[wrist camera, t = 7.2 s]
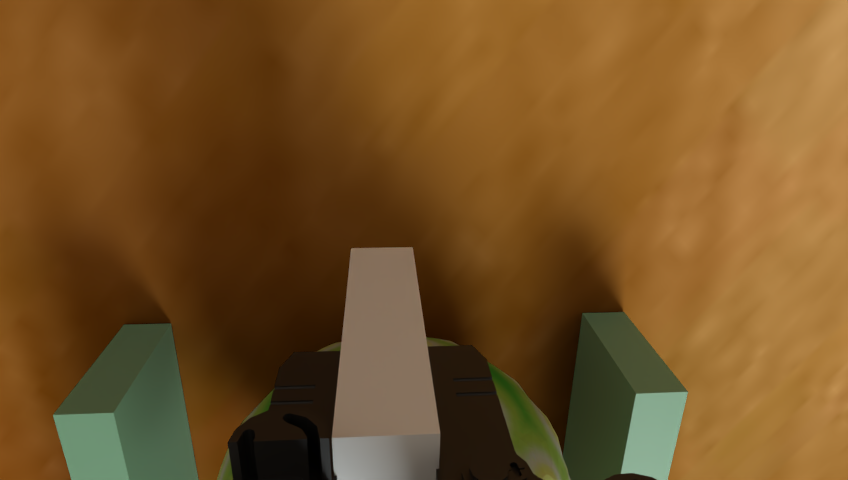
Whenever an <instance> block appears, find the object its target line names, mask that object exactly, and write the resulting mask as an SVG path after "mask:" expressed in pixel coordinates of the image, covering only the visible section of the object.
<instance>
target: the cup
mask: <svg viewBox="0 0 848 480" xmlns="http://www.w3.org/2000/svg"><path fill="white" fill-rule="evenodd" d="M687 394H688V391H687V390H686V389H685V388H684V386H683V385H682V384H681V383H680V381H679V380H678V379H677V378H676V376H675V375H674V374H673V373H672V371H671V370H670V369H669V368H668V366H667V365H666V364H665V363H664V361H663V360H662V359H661V358H660V356H659V355H658V354H657V353H656V351H655V350H654V349H653V348H652V346H651V345H650V344H649V343H648V341H647V340H646V339H645V338H644V336H643V335H642V334H641V333H640V331H639V330H638V329H637V328H636V326H635V325H634V324H633V323H632V321H631V320H630V319H629V318H628V316H627V315H626V314H625V313H624V312H604V313H582V320H581V327H580V334H579V341H578V349H577V356H576V363H575V370H574V378H573V385H572V392H571V399H570V406H569V414H568V421H567V428H566V435H565V443H564V450H563V459H564V461H565V464H566V466H567V469H568V474H569V477H570V479H571V480H605V479H607V478H609V477H611V476H613V475H615V474H625V473H635V474H640V475H645V476H649V477H653V478H655V479H657V480H668V475H669V471H670V467H671V463H672V458H673V454H674V450H675V445H676V441H677V437H678V432H679V428H680V424H681V420H682V415H683V411H684V407H685V402H686V398H687ZM53 417H54V421H55V424H56V427H57V431H58V434H59V438H60V441H61V445H62V448H63V452H64V455H65V459H66V462H67V466H68V469H69V473H70V476H71V480H198V475H197V469H196V463H195V458H194V452H193V446H192V441H191V435H190V429H189V424H188V418H187V412H186V407H185V401H184V395H183V389H182V384H181V378H180V372H179V367H178V361H177V355H176V350H175V344H174V338H173V333H172V327H171V323H167V324H128V325H123V326H122V328H121V329H120V330H119V332H118V333H117V334H116V335H115V337H114V338H113V339H112V340H111V342H110V343H109V344H108V346H107V347H106V348H105V349H104V351H103V352H102V353H101V354H100V356H99V357H98V358H97V360H96V361H95V362H94V363H93V365H92V366H91V367H90V368H89V370H88V371H87V372H86V374H85V375H84V376H83V377H82V379H81V380H80V381H79V382H78V384H77V385H76V386H75V388H74V389H73V390H72V391H71V393H70V394H69V395H68V396H67V398H66V399H65V400H64V402H63V403H62V404H61V405H60V407H59V408H58V409H57V410H56V412H55V413H54V414H53Z"/></svg>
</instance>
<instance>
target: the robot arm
mask: <svg viewBox="0 0 848 480" xmlns="http://www.w3.org/2000/svg"><path fill="white" fill-rule="evenodd" d="M228 448H229V455H230V462H231V469H232V475H233V480H543V479H541V478H539V477H537V476H536V475H535V474H533V472H532V470H531V469H530V467H529V465H528V464H527V462H526V461H525V460H523V459H522V458H521V457H520V456H518V455H517V454H516V452H515V450H514V446H513V443H512V440H511V437H510V433H509V430H508V427H507V424H506V420H505V417H504V414H503V411H502V407H501V404H500V401H499V398H498V395H497V391H496V388H495V385H494V382H493V380H492V375H491V372H490V369H489V365H488V362H487V359H486V358H485V357H484V356H483V355H481V354H480V353H479V352H478V351H477V350H476V349H475V348H474V347H473V346H472V345H460V346H427V340H426V333H425V327H424V320H423V313H422V307H421V300H420V293H419V286H418V280H417V273H416V266H415V259H414V253H413V247H391V248H351V254H350V264H349V274H348V283H347V293H346V303H345V313H344V323H343V332H342V342H341V351H316V352H294V353H293V354H292V355H291V356H290V357H289V358H288V359H287V360H286V361H285V363H284V364H283V365H282V366H281V367H280V368H279V371H278V375H277V379H276V383H275V389H274V390H273V394H272V398H271V404H270V405H269V409H268V411H265V412H263V413H261V414H258V415H256V416H253V417H251V418H249V419H248V420H247V421H245V422H244V423H243V424H242V425H240V426H239V427H238V428H237V429H236V430H235V431H234V433H233V435H232V436H231V438H230V439H229V441H228ZM605 480H657V479H655V478H653V477H649V476H645V475H640V474H635V473H625V474H615V475H613V476H611V477H609V478H607V479H605Z"/></svg>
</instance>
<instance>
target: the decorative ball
mask: <svg viewBox="0 0 848 480" xmlns="http://www.w3.org/2000/svg"><path fill="white" fill-rule="evenodd" d="M426 340H427V346H459V345H458V344H456V343H454V342H452V341H449V340H442V339H436V338H429V337H426ZM319 351H341V342H337V343H334V344H331V345H329V346H326V347H324V348H322V349H320V350H319ZM488 365H489V369H490V372H491V375H492V380H493V382H494V385H495V388H496V391H497V395H498V398H499V401H500V404H501V407H502V411H503V414H504V417H505V420H506V424H507V427H508V430H509V433H510V437H511V440H512V443H513V446H514V450H515V452H516V454H517V455H518V456H520V457H521V458H522V459H523V460H525V461H526V462H527V464H528V465H529V467H530V469H531V470H532V472H533V474H535V475H536V476H537V477H539V478H541V479H543V480H571V479H570V477H569V474H568V469H567V466H566V464H565V461H564V459H563V456H562V452H561V448H560V444H559V440H558V436H557V434H556V433H555V431H554V429H553V427H552V425H551V423H550V421H549V420H548V418H547V417H546V415H545V414H544V413H543V412H542V411H541V410H540V409H539V408H538V407H537V406H536V405H535V404H534V403H533V402H532V401H531V400H530V399H529V398H528V396H527V395H526V393H525V392H524V390H523V389H522V388H521V386H520V385H519V383H518V382H517V381H516V380H514V379H513V378H511V377H510V376H508V375H507V374H506V373H504V372H503V371H501V370H500V369H498V368H497V367H495V366H494V365H492V364H491V363H489V362H488ZM274 389H275V388H274ZM274 389H273V390H274ZM273 390H272V391H271V392H270V393H269V394H268V395H267V396H266V397H265V399H264V400H263V401H262V402H261V403H260V404H259V405H258V406H257V407H256V408H255V409H254V410H253V411H252V412H251V413H250V414H249V415H248V416H247V417H246V418H245V419H244V421H243V422H242V423H241V425H242V424H243V423H244V422H245V421H247V420H248V419H249V418H251V417H253V416H256V415H258V414H261V413H263V412H265V411H268V409H269V405H270V404H271V398H272V394H273ZM217 480H233V475H232V469H231V462H230V455H229V448H228V450H227V452H226V455H225V458H224V460H223V463H222V465H221V468H220V472H219V475H218V478H217Z"/></svg>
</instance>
